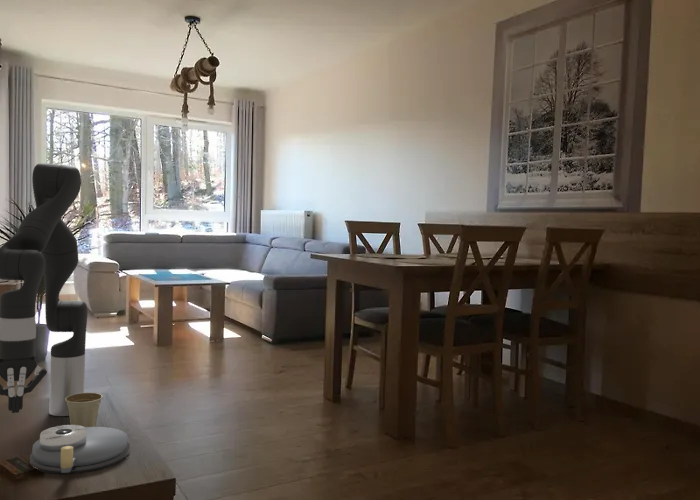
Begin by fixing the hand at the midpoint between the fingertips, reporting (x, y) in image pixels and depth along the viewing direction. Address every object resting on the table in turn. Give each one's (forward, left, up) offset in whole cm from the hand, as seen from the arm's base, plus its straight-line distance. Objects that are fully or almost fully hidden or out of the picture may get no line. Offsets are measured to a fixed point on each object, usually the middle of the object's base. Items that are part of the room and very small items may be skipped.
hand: (15, 411), depth 131 cm
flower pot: (-20, +18, -13) cm, 30 cm away
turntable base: (0, +14, -13) cm, 19 cm away
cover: (0, +10, -9) cm, 14 cm away
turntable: (+2, +14, -11) cm, 18 cm away
